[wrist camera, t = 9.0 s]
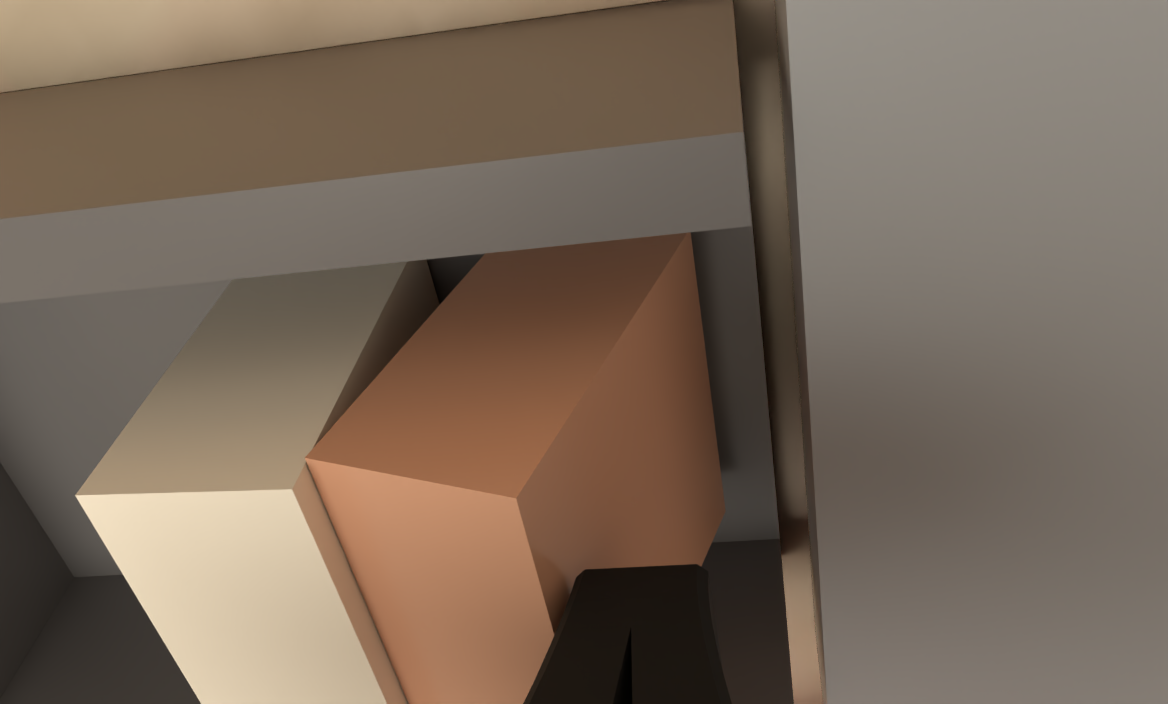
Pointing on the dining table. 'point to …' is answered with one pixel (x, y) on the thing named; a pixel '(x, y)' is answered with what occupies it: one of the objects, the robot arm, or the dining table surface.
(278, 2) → the dining table surface
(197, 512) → the tile cream
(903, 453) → the slate board
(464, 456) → the tile terracotta
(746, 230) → the box
